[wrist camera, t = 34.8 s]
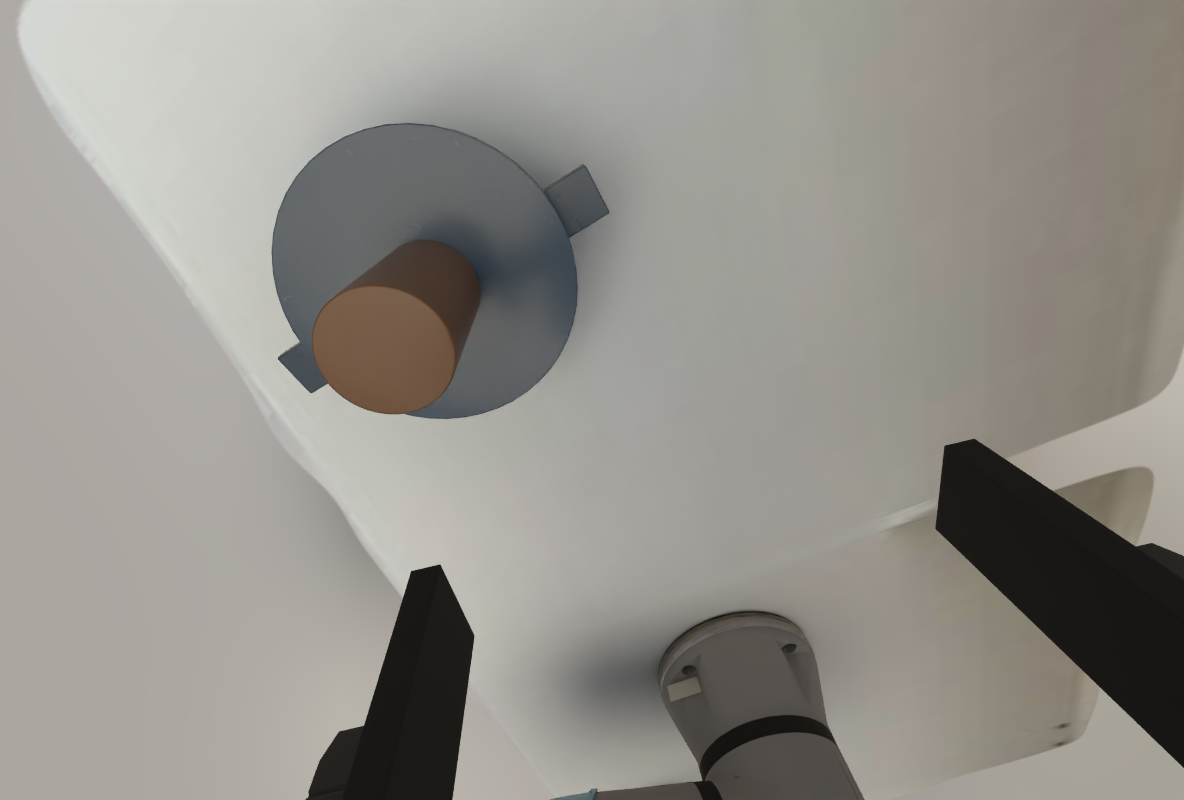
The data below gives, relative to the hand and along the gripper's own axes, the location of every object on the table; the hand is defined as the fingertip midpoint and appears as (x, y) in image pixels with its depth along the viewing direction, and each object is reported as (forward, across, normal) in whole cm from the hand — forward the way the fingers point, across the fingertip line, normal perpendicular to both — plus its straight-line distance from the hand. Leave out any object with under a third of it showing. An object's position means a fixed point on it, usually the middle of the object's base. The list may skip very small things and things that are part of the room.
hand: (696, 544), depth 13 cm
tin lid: (+15, +8, -5) cm, 18 cm away
